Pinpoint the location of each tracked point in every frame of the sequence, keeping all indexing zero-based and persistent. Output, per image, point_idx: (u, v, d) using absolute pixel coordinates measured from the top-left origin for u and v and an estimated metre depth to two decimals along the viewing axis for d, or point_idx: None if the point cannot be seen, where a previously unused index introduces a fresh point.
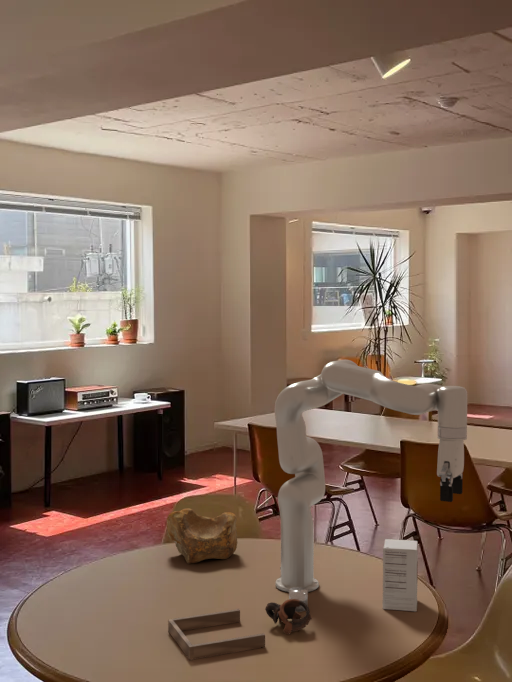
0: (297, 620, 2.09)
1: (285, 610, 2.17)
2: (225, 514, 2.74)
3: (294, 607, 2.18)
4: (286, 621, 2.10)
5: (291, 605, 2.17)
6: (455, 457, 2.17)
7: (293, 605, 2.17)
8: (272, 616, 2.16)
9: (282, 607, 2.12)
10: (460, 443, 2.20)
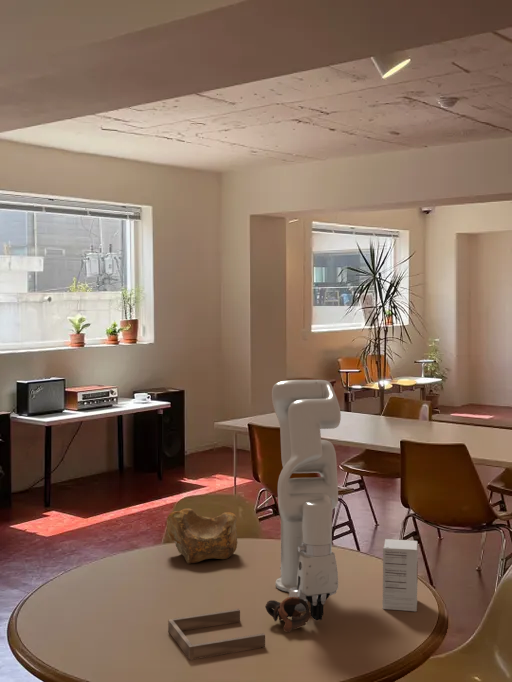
0: (297, 618, 2.10)
1: (285, 608, 2.19)
2: (225, 514, 2.74)
3: (294, 605, 2.19)
4: (286, 619, 2.11)
5: (291, 602, 2.18)
6: None
7: (293, 603, 2.19)
8: (272, 614, 2.17)
9: (282, 605, 2.13)
10: None
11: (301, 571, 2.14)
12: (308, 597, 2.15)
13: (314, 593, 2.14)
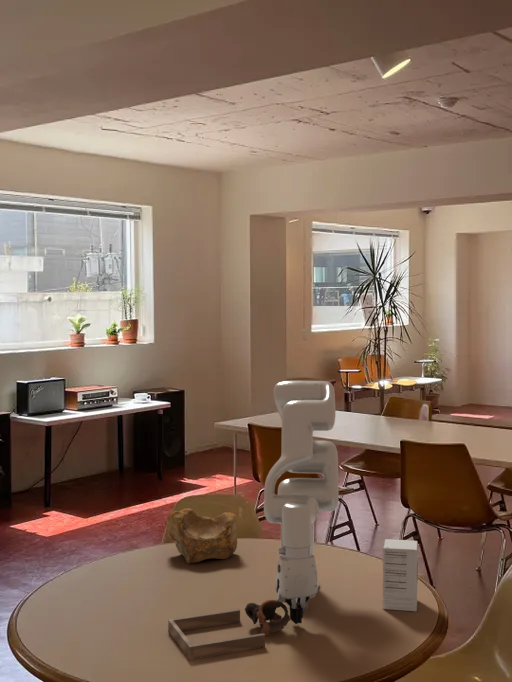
0: (275, 621, 2.08)
1: (265, 611, 2.17)
2: (225, 514, 2.74)
3: (274, 608, 2.17)
4: (264, 622, 2.09)
5: (271, 605, 2.16)
6: None
7: (273, 606, 2.16)
8: (251, 617, 2.15)
9: (260, 608, 2.11)
10: None
11: (280, 574, 2.12)
12: (287, 600, 2.13)
13: (293, 596, 2.12)
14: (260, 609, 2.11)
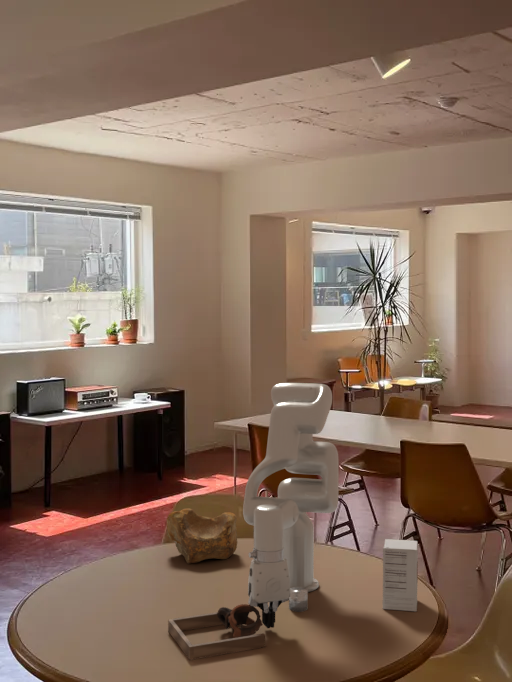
0: (246, 626, 2.05)
1: (238, 615, 2.14)
2: (225, 514, 2.74)
3: (247, 612, 2.14)
4: (235, 627, 2.06)
5: (244, 610, 2.13)
6: None
7: (246, 610, 2.13)
8: (224, 621, 2.12)
9: (232, 612, 2.08)
10: None
11: (252, 578, 2.09)
12: (259, 604, 2.10)
13: (265, 600, 2.09)
14: (232, 614, 2.08)
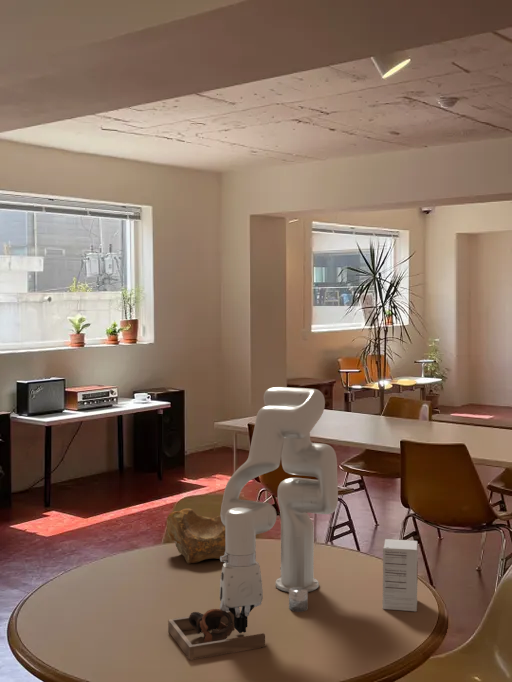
0: (217, 631, 2.02)
1: (210, 620, 2.11)
2: None
3: (219, 617, 2.11)
4: (206, 632, 2.03)
5: (216, 614, 2.10)
6: None
7: (218, 615, 2.10)
8: (195, 626, 2.09)
9: (203, 617, 2.05)
10: None
11: (223, 582, 2.06)
12: (231, 609, 2.08)
13: (236, 605, 2.06)
14: (203, 618, 2.05)
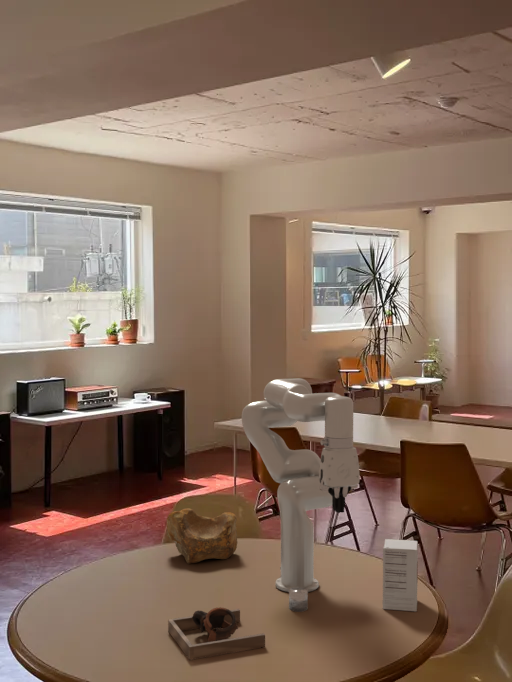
0: (221, 629, 2.03)
1: (213, 619, 2.12)
2: (225, 514, 2.74)
3: (223, 616, 2.12)
4: (210, 630, 2.04)
5: (220, 613, 2.11)
6: None
7: (221, 614, 2.11)
8: (199, 624, 2.10)
9: (207, 616, 2.06)
10: None
11: (324, 464, 2.21)
12: (330, 489, 2.22)
13: (336, 485, 2.20)
14: (207, 617, 2.06)
